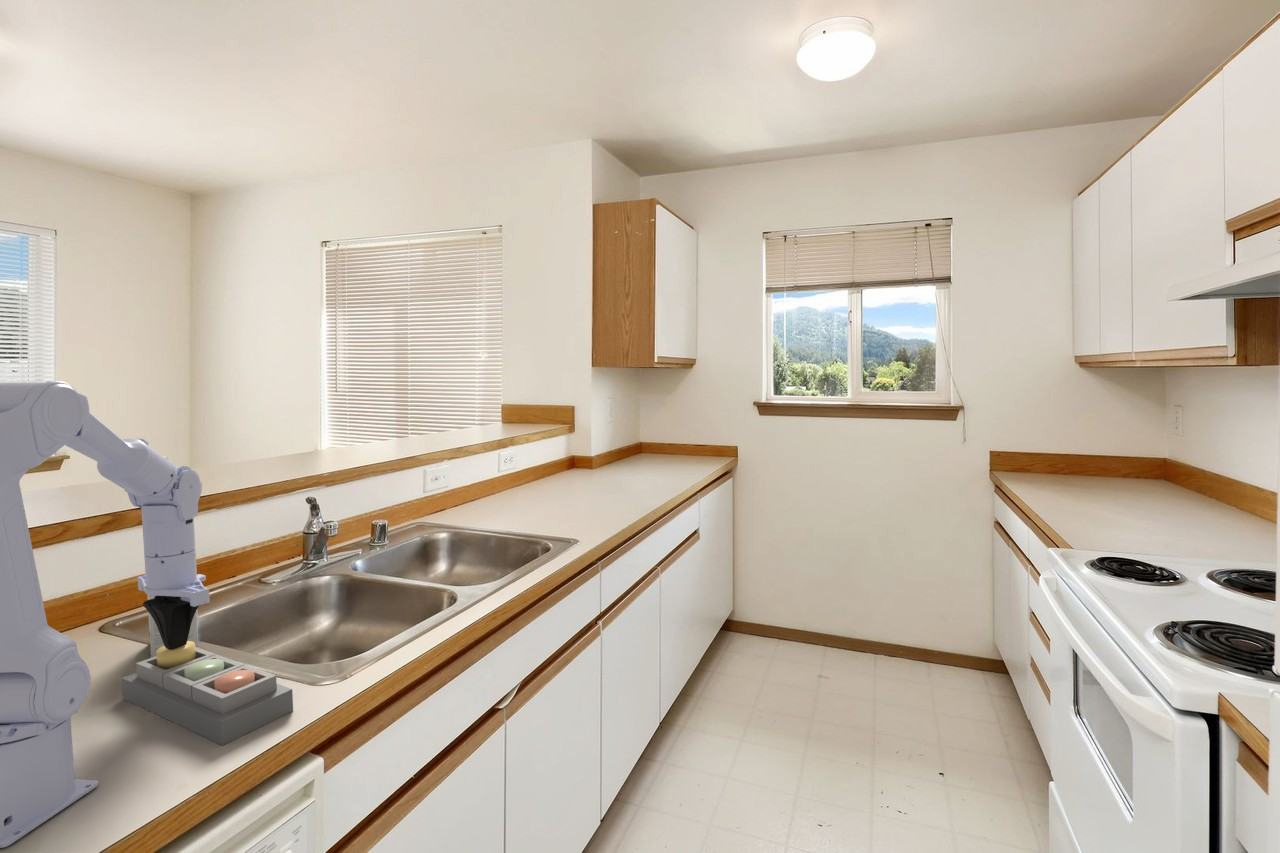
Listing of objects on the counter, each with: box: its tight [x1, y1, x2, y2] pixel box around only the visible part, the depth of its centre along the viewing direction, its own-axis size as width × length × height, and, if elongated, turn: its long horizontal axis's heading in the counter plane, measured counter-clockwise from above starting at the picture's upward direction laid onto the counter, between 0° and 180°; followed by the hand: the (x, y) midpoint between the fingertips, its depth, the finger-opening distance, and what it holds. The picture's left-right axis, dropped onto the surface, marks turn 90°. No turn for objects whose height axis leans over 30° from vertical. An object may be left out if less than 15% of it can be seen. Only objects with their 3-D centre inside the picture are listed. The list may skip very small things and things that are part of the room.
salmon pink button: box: [214, 670, 255, 694], centre depth 82 cm, size 4×4×2 cm
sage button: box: [184, 659, 224, 681], centre depth 85 cm, size 4×4×2 cm
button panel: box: [121, 647, 294, 746], centre depth 85 cm, size 24×9×5 cm, turn 62°
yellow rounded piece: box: [156, 641, 196, 668], centre depth 88 cm, size 4×4×2 cm
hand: (176, 646), depth 88 cm, fingers closed
